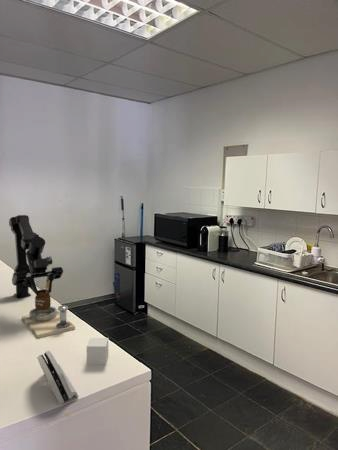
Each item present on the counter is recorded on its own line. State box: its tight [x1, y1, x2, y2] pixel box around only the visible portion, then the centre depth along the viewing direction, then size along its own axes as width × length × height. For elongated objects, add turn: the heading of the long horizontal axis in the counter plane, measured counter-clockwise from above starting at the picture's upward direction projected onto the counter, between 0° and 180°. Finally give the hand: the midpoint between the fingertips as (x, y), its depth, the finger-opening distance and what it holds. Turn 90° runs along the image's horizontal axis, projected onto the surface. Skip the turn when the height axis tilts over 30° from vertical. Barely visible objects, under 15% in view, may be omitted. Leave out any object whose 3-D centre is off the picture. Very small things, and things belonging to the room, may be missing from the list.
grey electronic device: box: [36, 350, 79, 405], centre depth 92 cm, size 17×5×10 cm, turn 33°
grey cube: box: [86, 337, 109, 365], centre depth 107 cm, size 6×6×6 cm
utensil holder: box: [34, 280, 52, 310], centre depth 137 cm, size 6×6×12 cm
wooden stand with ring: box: [21, 304, 76, 339], centre depth 134 cm, size 22×14×9 cm, turn 38°
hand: (43, 293), depth 136 cm, fingers closed on utensil holder, 5 cm apart
